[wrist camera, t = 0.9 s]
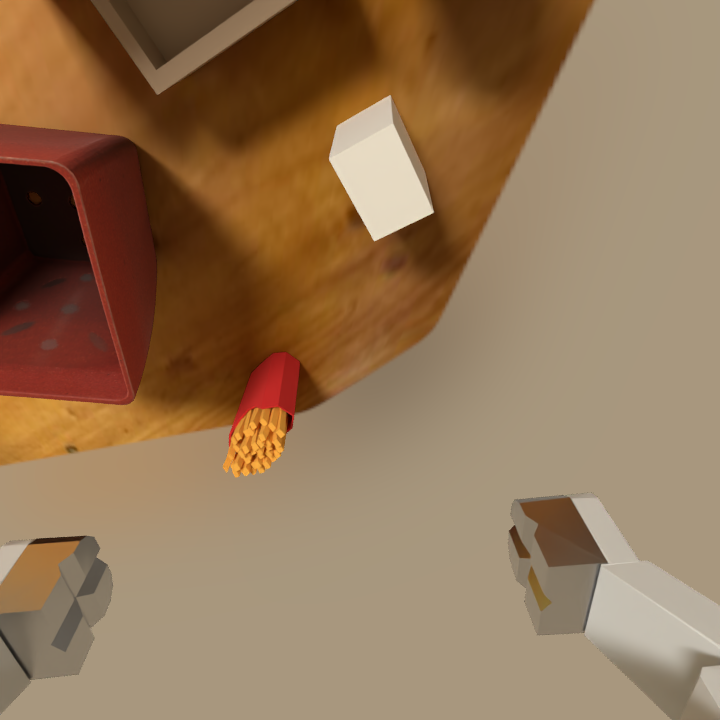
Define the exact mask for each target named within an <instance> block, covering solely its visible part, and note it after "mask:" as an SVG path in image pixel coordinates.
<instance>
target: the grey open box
mask: <svg viewBox="0 0 720 720" xmlns="http://www.w3.org/2000/svg"><path fill="white" fill-rule="evenodd" d="M296 1H298V0H91V2H92V3H93V4H94V6H95V7H96V9H97V10H98V12H99V13H100V14H101V16H102V17H103V19H104V20H105V21H106V23H107V24H108V26H109V27H110V29H111V30H112V31H113V33H114V34H115V36H116V37H117V39H118V40H119V41H120V43H121V44H122V46H123V47H124V48H125V50H126V51H127V53H128V54H129V56H130V57H131V58H132V60H133V61H134V63H135V64H136V65H137V67H138V68H139V70H140V71H141V73H142V74H143V75H144V77H145V78H146V80H147V81H148V83H149V84H150V85H151V87H152V88H153V90H154V91H155V92H156V94H157V95H158V94H160V93H162V92H163V91H165V90H167V89H168V88H170V87H171V86H173V85H175V84H176V83H178V82H180V81H181V80H183V79H184V78H186V77H187V76H189V75H190V74H192V73H193V72H195V71H196V70H198V69H199V68H200V67H202V66H203V65H205V64H206V63H208V62H209V61H211V60H212V59H214V58H215V57H216V56H218V55H219V54H221V53H222V52H224V51H225V50H227V49H228V48H229V47H231V46H232V45H234V44H235V43H237V42H238V41H240V40H241V39H243V38H244V37H245V36H247V35H248V34H250V33H251V32H253V31H254V30H256V29H257V28H258V27H260V26H261V25H263V24H264V23H266V22H267V21H269V20H270V19H272V18H273V17H274V16H276V15H277V14H279V13H280V12H282V11H283V10H285V9H286V8H287V7H289V6H290V5H292V4H293V3H295V2H296Z"/></svg>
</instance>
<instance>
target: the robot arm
mask: <svg viewBox="0 0 720 720" xmlns="http://www.w3.org/2000/svg"><path fill="white" fill-rule="evenodd" d="M511 517H512V519H513V521H514V524H515V525H514V526H513V527H512V528H511V530H509V538H508V547H509V556H510V561H511V564H512V569H513V572H514V575H515V577H516V580H517V581H518V582H519V583H520V584H521V585H523V586H524V587H525V588H526V594H525V604H526V607H527V610H528V612H529V615H530V617H531V620H532V623H533V625H534V628H535V631H536V633H537V635H551V634H569V633H585V634H584V635H585V637H586V638H587V639H589V640H590V641H591V642H592V643H593V644H594V645H595V646H596V647H597V648H598V649H599V650H600V651H601V652H602V653H603V654H604V655H605V656H606V657H607V658H608V659H609V660H610V661H611V662H612V663H614V665H615V666H617V667H618V668H619V669H620V670H621V671H622V672H623V673H624V674H625V675H626V676H627V677H628V678H629V679H630V680H631V681H632V682H633V683H634V684H635V685H636V686H637V687H638V688H639V689H640V690H641V691H643V692H644V693H645V694H646V695H647V696H648V697H649V698H650V699H651V700H652V701H653V702H654V703H655V704H656V705H657V706H658V707H659V708H660V709H661V710H662V711H663V712H664V713H666V715H667V716H668V717H670V718H671V719H672V720H720V606H719V605H718V604H716V603H715V602H713V601H711V600H710V599H708V598H707V597H705V596H704V595H702V594H700V593H699V592H697V591H695V590H694V589H692V588H691V587H689V586H688V585H686V584H685V583H683V582H681V581H680V580H678V579H677V578H675V577H673V576H672V575H670V574H669V573H667V572H665V571H664V570H662V569H661V568H659V567H658V566H656V565H654V564H653V563H651V562H650V561H640V560H639V559H638V557H637V556H636V554H635V553H634V551H633V550H632V548H631V547H630V545H629V544H628V542H627V541H626V539H625V538H624V536H623V535H622V533H621V532H620V530H619V529H618V527H617V526H616V524H615V523H614V521H613V520H612V518H611V517H610V515H609V513H608V512H607V510H606V509H605V508H604V506H603V504H602V503H601V501H600V500H599V498H598V497H597V496H596V495H595V494H593V493H582V494H571V495H566V496H564V495H561V496H549V497H539V498H528V499H519V500H518V499H517V500H514V501H513V504H512V508H511ZM99 550H100V547H99V545H98V544H97V541H96V540H95V538H94V537H92V536H75V537H57V538H41V539H31V540H15V541H9V542H8V543H6V544H5V545H3V546H2V547H1V548H0V715H1V714H2V712H3V711H4V710H5V709H6V708H7V707H8V706H9V705H10V704H11V703H12V702H13V701H14V700H15V699H16V698H17V697H18V696H19V695H20V693H21V692H23V690H24V689H25V688H26V687H27V686H28V685H29V684H30V683H31V681H30V680H34V679H42V678H51V677H60V676H68V675H77V674H79V672H80V670H81V667H82V665H83V663H84V661H85V659H86V656H87V654H88V651H89V649H90V647H91V645H92V643H93V641H94V635H93V632H92V629H91V627H92V626H94V624H96V623H97V622H98V621H99V620H100V619H101V618H102V617H103V616H104V615H105V613H106V611H107V608H108V606H109V603H110V601H111V594H112V588H113V582H112V574H111V571H110V569H109V567H108V565H107V564H106V563H104V562H103V561H101V560H100V559H98V558H96V556H97V554H98V552H99Z"/></svg>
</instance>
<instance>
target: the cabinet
mask: <svg viewBox="0 0 720 720" xmlns="http://www.w3.org/2000/svg"><path fill="white" fill-rule="evenodd" d="M329 160H330V162H331V164H332V166H333V168H334V169H335V171H336V173H337V175H338V177H339V178H340V180H341V182H342V184H343V186H344V187H345V189H346V191H347V193H348V195H349V196H350V198H351V200H352V202H353V204H354V205H355V207H356V209H357V211H358V213H359V215H360V216H361V218H362V220H363V222H364V224H365V225H366V227H367V229H368V231H369V233H370V234H371V236H372V238H373V240H374V241H376V240H378V239H380V238H382V237H384V236H386V235H389V234H391V233H393V232H395V231H397V230H399V229H401V228H403V227H405V226H407V225H409V224H411V223H414V222H416V221H418V220H420V219H422V218H424V217H426V216H428V215H430V214H432V213H434V210H433V206H432V201H431V197H430V192H429V188H428V183H427V178H426V174H425V171H424V169H423V166H422V164H421V162H420V160H419V158H418V155H417V153H416V151H415V149H414V146H413V144H412V142H411V140H410V137H409V135H408V133H407V131H406V128H405V126H404V124H403V122H402V119H401V117H400V115H399V113H398V110H397V108H396V106H395V104H394V101H393V99H392V97H391V95H389V96H388V97H386V98H384V99H383V100H381V101H379V102H377V103H376V104H374V105H372V106H370V107H369V108H367V109H365V110H363V111H362V112H360V113H358V114H357V115H355V116H353V117H351V118H350V119H348V120H346V121H344V122H343V123H341V124H339V125H338V126H337V128H336V132H335V136H334V140H333V144H332V148H331V152H330V156H329Z"/></svg>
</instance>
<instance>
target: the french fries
mask: <svg viewBox="0 0 720 720" xmlns="http://www.w3.org/2000/svg"><path fill="white" fill-rule="evenodd" d="M299 373H300V361H298V360H297V359H295V358H294V357H293V356H291V355H290V354H288V353H287V352H279V353H273V354H271V355H270V356H269V357H268V358H267V359H265V360H264V361H263V362H262V363H261V364H260V365H259V366H258V367H257V368H256V369H255V370H254V371H253V372H252V373H251V375H250V378H249V380H248V383H247V386H246V389H245V392H244V395H243V397H242V400H241V403H240V406H239V409H238V412H237V414H236V417H235V420H234V423H233V426H232V429H231V431H230V434H229V447H230V448H229V451H228V454H227V458H226V460H225V463H224V465H223V469H224V470H225V471H226V472H227V471H228V469H229V467H230V464H231V468H232V469H233V471H232V472H233V474H234V475H235V477H239V476H240V473H241V472H242V473H243V474H244V475H245V476H246V475H248V474H249V473H250V472H251V473H252V474H253V475H254V474H255V473H256V471H257V469H258V471H259V472H260V473H263V472H265V468H266V469H268V468H270V467H271V462H274V461H275V460H277V458H278V457H280V456H281V452H282V451H284V445H285V438H286V433H287V432H288V431H289V430H291V429H292V427H293V420H294V412H295V404H296V396H297V388H298V380H299ZM235 453H236V454H235ZM232 460H233V461H232ZM231 462H232V463H231Z"/></svg>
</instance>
